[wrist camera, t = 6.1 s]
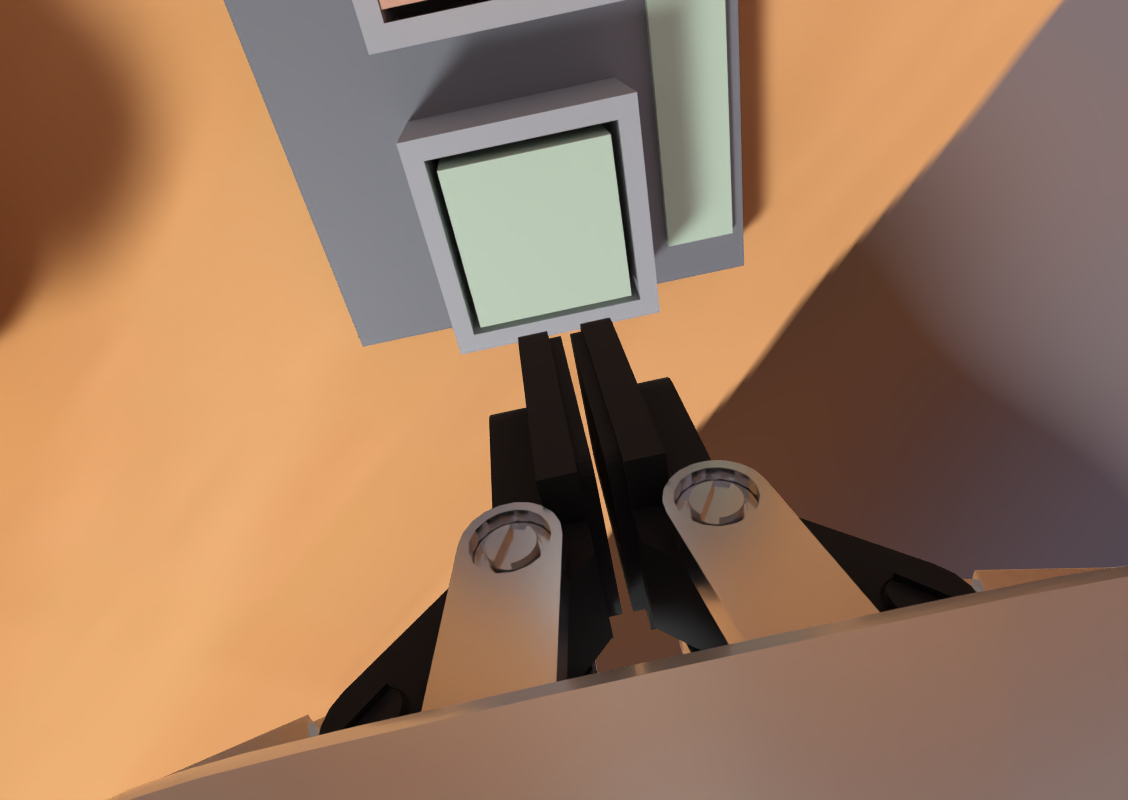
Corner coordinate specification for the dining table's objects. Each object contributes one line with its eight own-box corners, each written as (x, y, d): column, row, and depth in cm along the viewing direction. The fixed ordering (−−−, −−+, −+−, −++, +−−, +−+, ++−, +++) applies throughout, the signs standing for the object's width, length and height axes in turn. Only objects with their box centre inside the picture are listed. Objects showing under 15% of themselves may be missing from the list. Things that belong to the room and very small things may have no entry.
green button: (442, 149, 21) (436, 171, 18) (594, 116, 21) (610, 134, 18) (480, 290, 23) (480, 327, 21) (614, 262, 23) (631, 295, 21)
